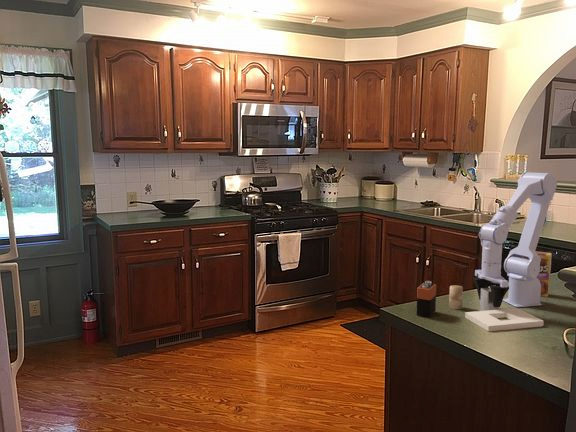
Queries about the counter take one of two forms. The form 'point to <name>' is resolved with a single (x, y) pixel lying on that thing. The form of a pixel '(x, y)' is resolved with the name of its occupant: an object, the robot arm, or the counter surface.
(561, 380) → the counter surface
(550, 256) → the candy box
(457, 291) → the round dowel
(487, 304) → the square peg
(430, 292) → the battery
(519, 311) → the bore board
